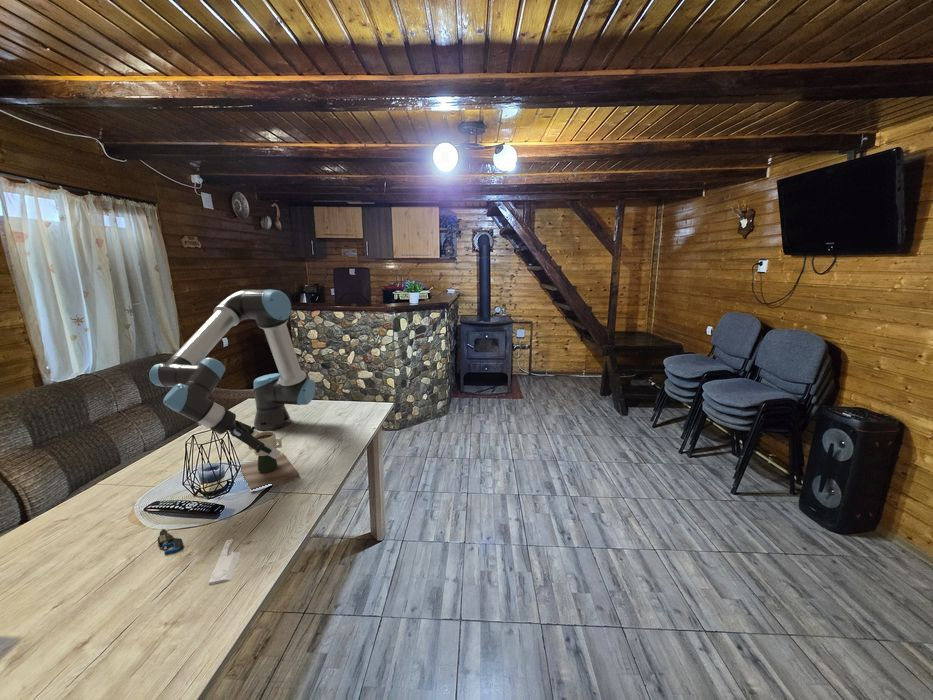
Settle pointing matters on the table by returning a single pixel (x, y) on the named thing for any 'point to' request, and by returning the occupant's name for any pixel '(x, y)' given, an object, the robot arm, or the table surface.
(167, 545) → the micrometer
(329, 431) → the table surface
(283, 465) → the walnut board
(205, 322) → the robot arm
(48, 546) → the table surface
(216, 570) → the butcher knife
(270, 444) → the character mug
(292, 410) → the table surface
